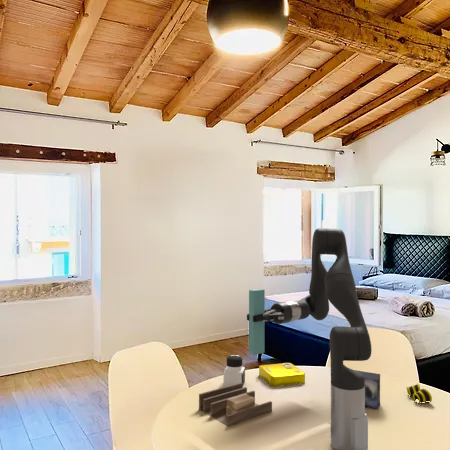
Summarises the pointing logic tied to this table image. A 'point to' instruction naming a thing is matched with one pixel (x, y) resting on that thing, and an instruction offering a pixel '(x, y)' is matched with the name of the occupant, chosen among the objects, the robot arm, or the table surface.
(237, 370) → the medicine bottle
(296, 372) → the element tile
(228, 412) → the lower oak offcut
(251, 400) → the upper oak offcut
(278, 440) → the table surface
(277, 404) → the table surface
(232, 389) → the wooden rack
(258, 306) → the teal board
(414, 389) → the opera glasses
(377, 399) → the small box
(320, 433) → the table surface
